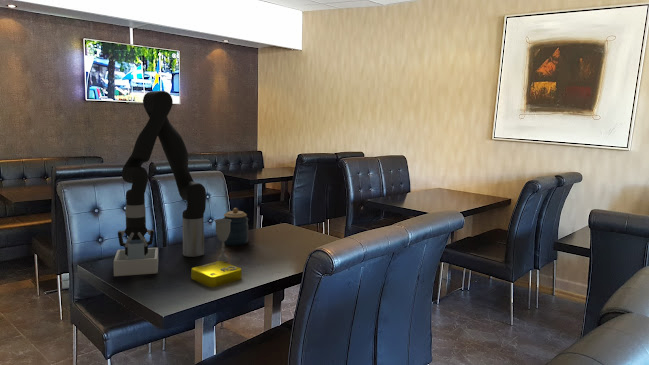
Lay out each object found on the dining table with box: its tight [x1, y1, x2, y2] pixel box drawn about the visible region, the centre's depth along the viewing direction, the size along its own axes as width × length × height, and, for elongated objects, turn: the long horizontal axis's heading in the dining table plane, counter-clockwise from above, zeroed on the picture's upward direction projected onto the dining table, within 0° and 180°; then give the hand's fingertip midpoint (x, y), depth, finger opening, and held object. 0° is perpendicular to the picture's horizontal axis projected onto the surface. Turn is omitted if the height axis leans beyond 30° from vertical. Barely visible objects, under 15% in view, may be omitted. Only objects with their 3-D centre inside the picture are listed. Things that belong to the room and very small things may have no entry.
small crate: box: [128, 239, 145, 260], centre depth 191 cm, size 6×8×7 cm
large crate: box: [112, 247, 159, 277], centre depth 192 cm, size 16×16×6 cm
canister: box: [222, 207, 249, 246], centre depth 234 cm, size 13×13×18 cm
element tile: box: [190, 260, 243, 288], centre depth 184 cm, size 15×15×5 cm
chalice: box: [214, 218, 231, 263], centre depth 205 cm, size 7×7×18 cm
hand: (136, 255), depth 191 cm, fingers closed on small crate, 6 cm apart
